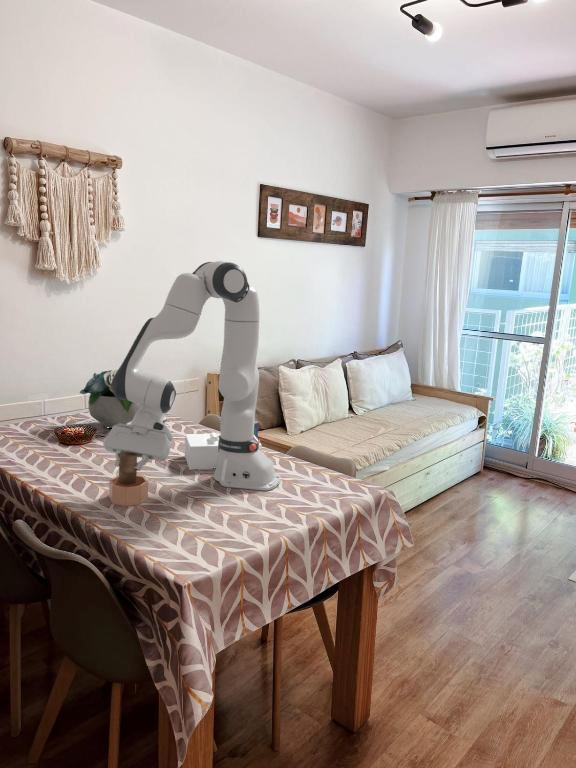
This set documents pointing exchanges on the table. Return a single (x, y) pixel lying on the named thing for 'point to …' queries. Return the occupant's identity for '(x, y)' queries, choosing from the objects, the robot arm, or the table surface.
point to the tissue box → (203, 450)
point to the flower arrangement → (108, 401)
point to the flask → (256, 429)
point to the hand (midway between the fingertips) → (126, 467)
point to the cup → (128, 491)
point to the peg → (127, 468)
